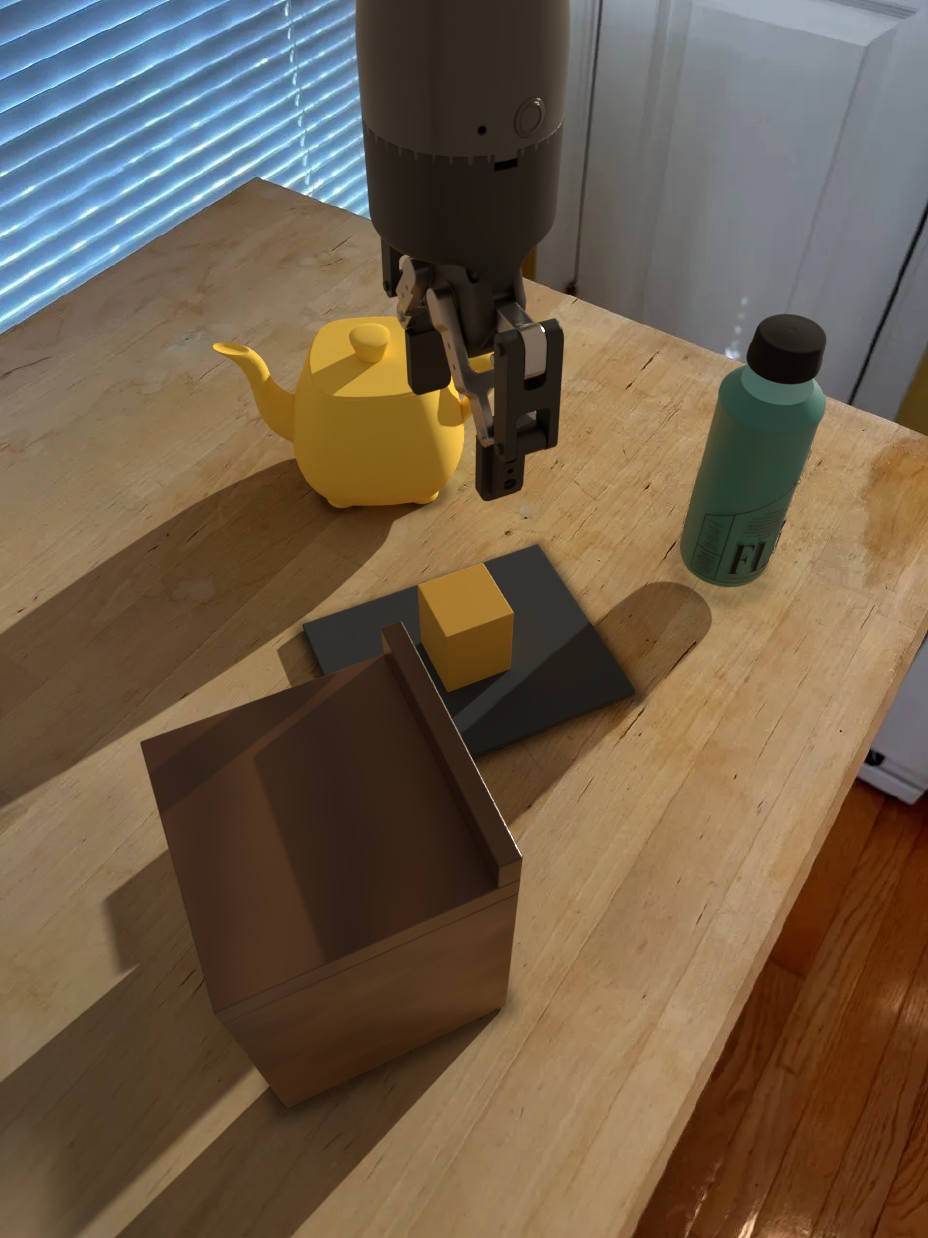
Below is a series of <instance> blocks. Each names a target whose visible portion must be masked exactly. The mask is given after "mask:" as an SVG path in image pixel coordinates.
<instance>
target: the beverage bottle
mask: <svg viewBox="0 0 928 1238" xmlns="http://www.w3.org/2000/svg"><path fill="white" fill-rule="evenodd" d="M827 339H828V338H827V334H826V331H825V330H824V328H823V327H821V325H819V324H818V323H817V322H815V321H814V320H812V319H810V318H808V317H805V316H802V315H798V314H794V313H793V314H792V313H779V314H773V315H771V316H768V317H765V318H764V319H763V320H761V321H760V323H759V324H758V325H757V326H756V328H755V332H754V334H753V337H752V340H751V341H750V343H749V345H748V348H747V352H746V357H745V359H746V363H747V364H744V365H741V366H739V367H737V368H735V369H734V370H732V371H730V372H729V373H727V374H726V376H724V378H723V379H722V381H721V382H720V384H719V387H718V391H717V399H716V403H715V407H714V411H713V415H712V419H711V423H710V427H709V429H708V430H709V432H708V435H707V439H706V442H705V446H704V452H703V453H702V457H701V461H700V463H698V466H699V467H697V468H696V471H697V472H696V476H695V479H694V483H693V487H692V489H690V492H692V493H691V494H689V496H688V497H690V495H691V497H690V499H689V500H687V503H688V504H687V509H686V511H685V512H686V515H683V516H684V517H683V520H682V525H681V528H680V529H682V530H680V532H679V533H681V534H680V535H679V536H678V537H679V540H678V543H677V544H678V546H679V550H680V556H681V560H682V562H683V564H684V565H685V567H686V569H687V570H688V571H689V572H690V573H691V574H692V575H693V576H694V577H696V578H697V579H699V580H700V581H703V582H704V583H707V584H709V585H712V586H716V587H722V588H738V587H739V588H740V587H743V586H746V585H749V584H751V583H752V582H754V581H755V580H757V579H758V578H759V577H761V576H762V575H763V574H764V572H765V571H766V570H767V567H769V565H770V564H771V562H770V561H772V560H773V558H772V556H774V554H775V553H776V549H777V547H778V545H779V541H780V539H781V535H782V533H783V528H784V526H785V524H786V522H787V518H786V517H787V515H788V514H787V513H788V512H789V509H790V507H791V504H792V502H793V501H792V500H793V498H794V496H795V495H794V494H795V492H796V489H797V487H798V485H800V484H801V482H802V479H801V477H803V475H804V472H805V471H806V468H807V466H808V462H809V461H810V457H811V455H812V453H813V452H812V450H813V448H814V447H812V446H813V444H814V443H815V436H816V433H817V431H818V428H819V425H820V422H821V421H822V419H823V418H824V416H825V412H826V408H827V399H826V395H825V393H824V392H823V389H822V388H821V386H820V385H819V384H818V382H817V380H816V379H815V378H816V377H817V376H818V374H819V372H820V371H821V367H822V365H823V360H824V359H823V358H824V355H825V351H826V346H827ZM811 448H812V449H811ZM770 559H771V560H770Z"/></svg>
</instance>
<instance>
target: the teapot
mask: <svg viewBox="0 0 928 1238" xmlns="http://www.w3.org/2000/svg"><path fill="white" fill-rule="evenodd" d="M406 329H407V328H406ZM212 347H213V349H214V350H215V351H216V353H219V354H221V355H222V356H223V357H226V358H227V359H229V360H231V361H232V362H234V363H235V364H236V365H237V366H238V367H239V368H240V369H241V370H242V373H243V374H244V375H245V376H246V378H247V382H248V383H249V386H250V389H251V392H252V395H253V398H254V402H255V405H256V407H257V410H258V413H259V414H260V417H261V419H262V421H263V422H264V423H265V424H266V426H267V427H268V428H269V429H270V430H271V431H272V432H273V433H274V434H276V435H277V436H278V437H281V438H282V439H284V440H285V441H288V442H289V443H292V444H293V445H292V447H293V451H294V457H295V459H296V464H297V465H298V467H299V470H300V472H301V474H302V476H303V477H304V479H305V481H306V483H307V484H308V485H309V486H310V487H311V488H312V489H313V490H314V491H315V492H316V493H318V494H319V495H320V496H322V497H323V498H325V499H326V500H327V502H328V503H329V504H330V505H331V506H332V507H333V508H338V509H347V508H350V507H352V506H368V507H370V506H372V507H373V506H390V505H391V506H393V505H401V504H408V503H415V504H418V505H426V504H429V503H432V502H434V501H435V500H436V499H437V498H438V495H439V492H440V490H442V489H443V488H444V487H445V485H446V484H447V483H448V482H449V481H450V480H451V478H452V476H453V475H454V473H455V471H456V470H457V468H458V465H459V462H460V459H461V456H462V454H463V453H462V452H463V448H464V442H465V441H464V440H465V425H464V424H465V423H466V422H467V421H468V420H469V418H471V416H473V414H472V410H471V406H470V402H469V399H468V397H467V396H465V395H464V397H463V398H462V400H460V394H459V393H458V392H457V391H456V389H455V387H454V383H453V379H452V375H451V382H450V384H449V385H448V386H447V387H446V388H444V389H441V390H437V391H433V392H430V393H426V394H423V395H416V394H414V393H413V391H412V389H411V388H410V386H409V385H408V380H407V362H406V345H405V329H403V328H402V327H401V325H400V323H399V321H398V319H397V316H362V317H361V316H359V317H350V318H349V317H348V318H342V319H337V320H333V321H330V322H328V323H326V324H325V325H324V326H322V327H321V328H320V329H319V330H318V331H317V332H316V334H315V336H314V337H313V339H312V342H311V344H310V346H309V348H308V350H307V354H306V356H305V359H304V362H303V364H302V368H301V370H300V373H299V377H298V379H297V383H296V386H295V391H294V393H293V392H290V391H287V390H285V389H283V388H282V387H280V386H279V385H278V384H277V383H276V382H275V381H274V379H273V377H272V375H271V373H270V371H269V369H268V366H267V364H266V363H265V361H264V359H262V357H261V356H260V355H259V354H258V353H256V351H254V350H253V349H251V348H249V347H247V346H245V345H243V344H242V345H241V344H238V343H234V342H225V341H224V342H215V343H214V344H213V345H212ZM493 353H494V352H492V353H489V354H485V355H481V356H478V357H474V358H468V359H469V363H470V366H471V368H472V369H473V370H474V371H475V372H482V371H485V370H489V369H492V368H494V366H492V364H491V362H490V355H491V354H493ZM493 391H494V388H491V389H490V390H489V392H488V396H489V395H490V394H491V393H492V392H493Z"/></svg>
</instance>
